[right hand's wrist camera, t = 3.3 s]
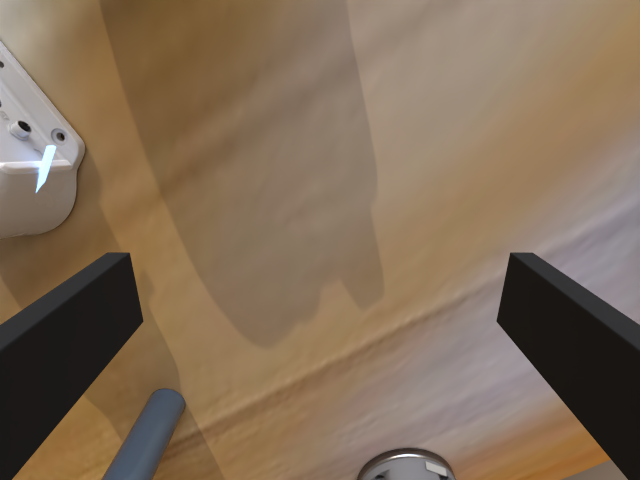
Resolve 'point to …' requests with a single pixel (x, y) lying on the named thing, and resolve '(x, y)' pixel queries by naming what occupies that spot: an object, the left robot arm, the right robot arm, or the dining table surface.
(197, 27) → the dining table surface
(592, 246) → the dining table surface
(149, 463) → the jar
